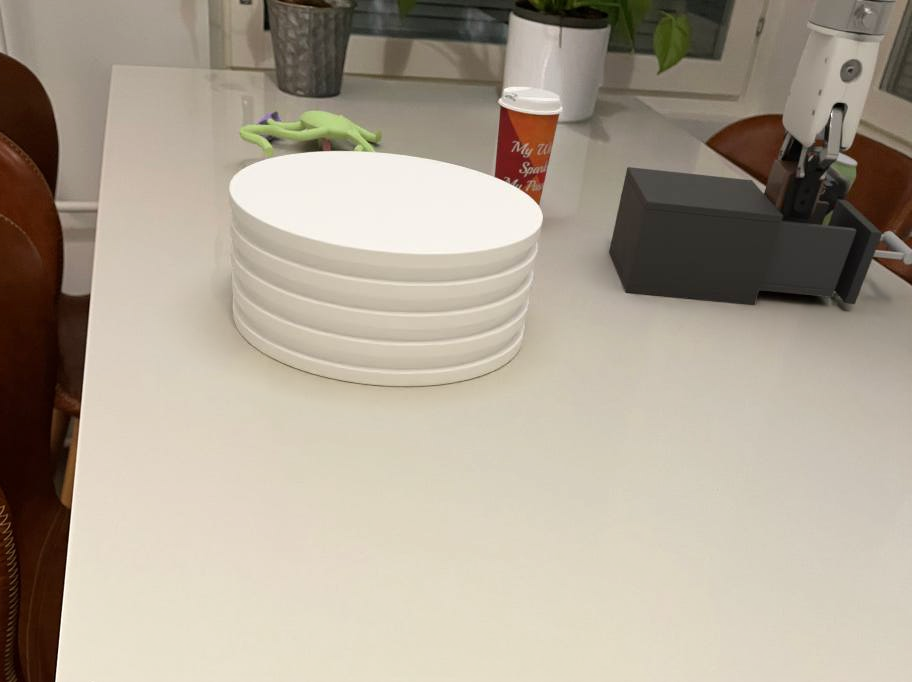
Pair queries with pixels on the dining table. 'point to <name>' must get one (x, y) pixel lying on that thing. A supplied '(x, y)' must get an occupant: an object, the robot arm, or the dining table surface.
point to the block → (783, 183)
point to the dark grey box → (693, 236)
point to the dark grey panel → (828, 253)
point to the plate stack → (381, 266)
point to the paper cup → (526, 137)
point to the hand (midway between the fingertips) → (787, 207)
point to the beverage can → (837, 182)
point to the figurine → (309, 131)
